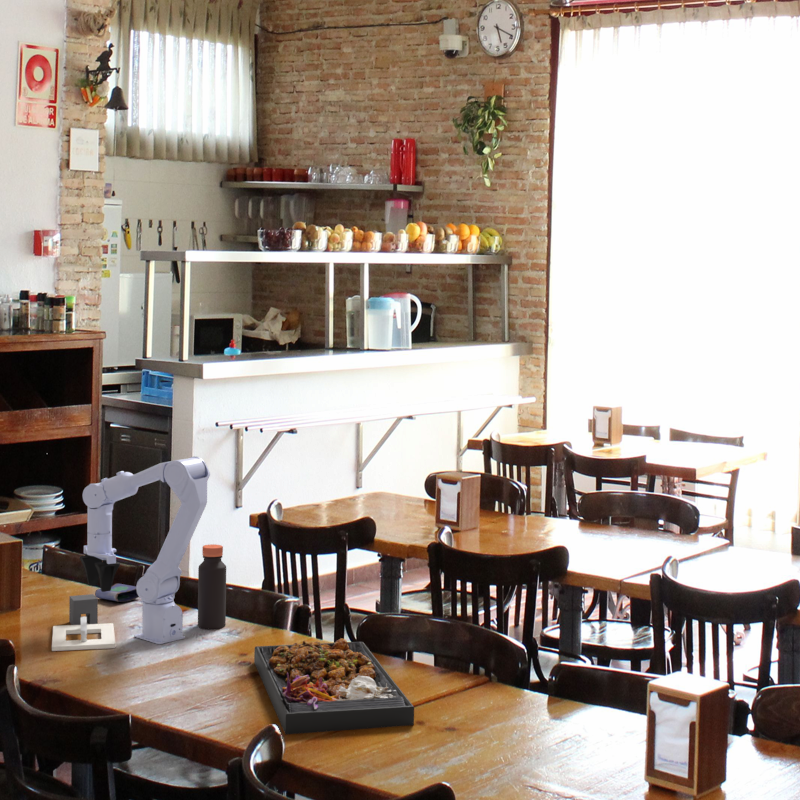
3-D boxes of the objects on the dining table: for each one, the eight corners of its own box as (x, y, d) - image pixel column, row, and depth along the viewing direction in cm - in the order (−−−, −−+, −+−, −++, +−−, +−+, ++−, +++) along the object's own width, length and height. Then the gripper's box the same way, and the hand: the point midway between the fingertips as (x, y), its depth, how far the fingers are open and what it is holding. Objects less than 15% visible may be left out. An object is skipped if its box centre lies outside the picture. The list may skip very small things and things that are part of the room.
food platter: (413, 729, 228) (415, 676, 228) (285, 737, 222) (286, 682, 222) (362, 660, 272) (363, 616, 271) (254, 666, 266) (255, 620, 265)
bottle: (223, 630, 291) (224, 549, 290) (195, 630, 291) (196, 548, 290) (227, 623, 298) (228, 544, 297) (200, 622, 298) (201, 543, 297)
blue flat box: (116, 593, 312) (89, 589, 319) (117, 604, 313) (90, 600, 319) (143, 585, 320) (116, 581, 326) (144, 596, 320) (116, 592, 326)
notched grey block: (93, 619, 299) (93, 594, 298) (97, 624, 294) (97, 598, 294) (69, 622, 296) (69, 596, 296) (73, 627, 292) (73, 600, 291)
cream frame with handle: (115, 647, 275) (115, 632, 275) (51, 651, 271) (51, 635, 271) (113, 627, 292) (113, 612, 292) (53, 629, 288) (53, 615, 288)
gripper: (128, 535, 286) (127, 591, 287) (103, 526, 297) (102, 580, 298) (100, 538, 282) (99, 595, 283) (75, 528, 293) (75, 583, 294)
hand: (99, 587), depth 290 cm, fingers open, 7 cm apart
